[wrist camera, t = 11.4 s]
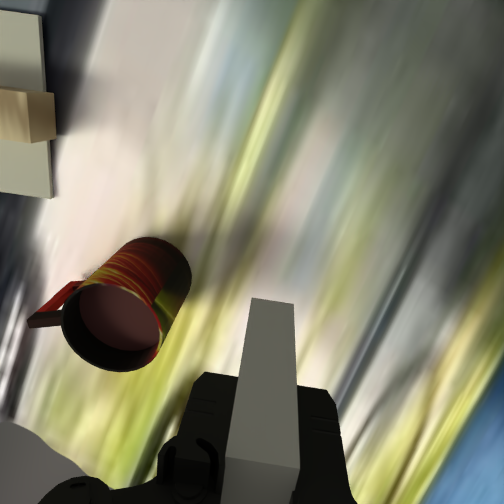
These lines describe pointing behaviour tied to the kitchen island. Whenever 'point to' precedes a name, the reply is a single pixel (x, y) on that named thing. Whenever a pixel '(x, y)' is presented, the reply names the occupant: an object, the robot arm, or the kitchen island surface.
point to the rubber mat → (32, 78)
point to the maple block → (26, 115)
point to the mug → (122, 306)
